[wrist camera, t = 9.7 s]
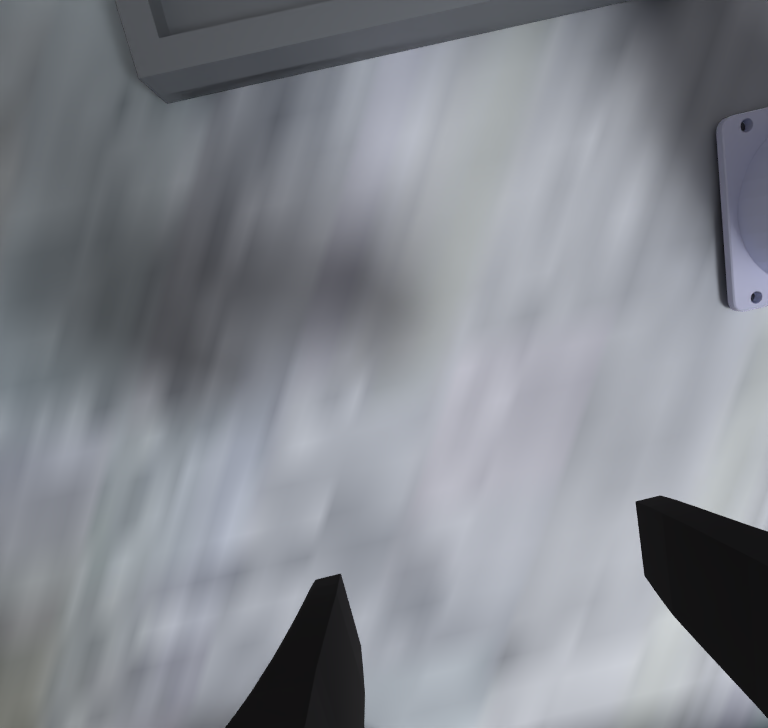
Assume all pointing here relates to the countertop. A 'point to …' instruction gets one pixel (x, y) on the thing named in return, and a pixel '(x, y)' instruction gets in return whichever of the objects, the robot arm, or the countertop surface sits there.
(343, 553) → the countertop surface
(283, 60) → the tray
